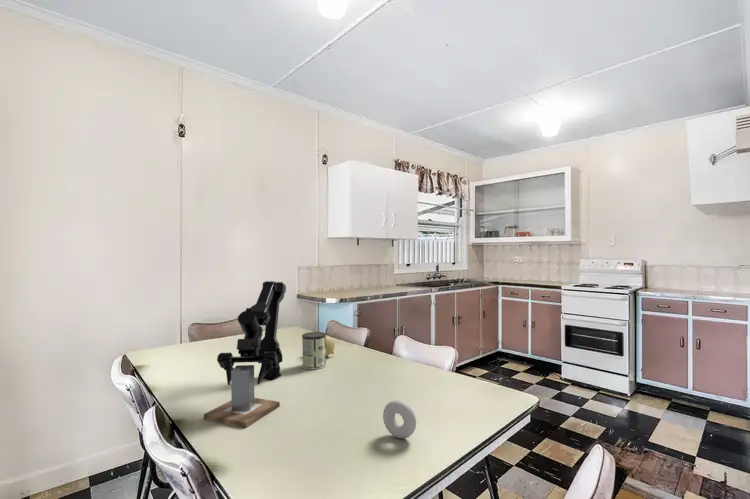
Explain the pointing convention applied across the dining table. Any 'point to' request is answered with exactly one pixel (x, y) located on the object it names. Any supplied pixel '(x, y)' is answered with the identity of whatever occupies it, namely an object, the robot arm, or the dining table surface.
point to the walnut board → (242, 413)
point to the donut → (406, 414)
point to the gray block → (242, 387)
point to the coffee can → (314, 350)
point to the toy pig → (329, 345)
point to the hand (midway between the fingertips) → (243, 384)
